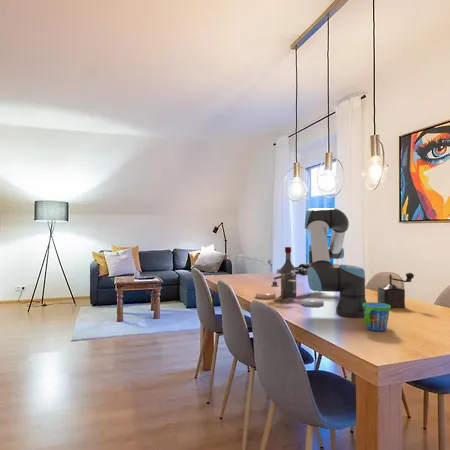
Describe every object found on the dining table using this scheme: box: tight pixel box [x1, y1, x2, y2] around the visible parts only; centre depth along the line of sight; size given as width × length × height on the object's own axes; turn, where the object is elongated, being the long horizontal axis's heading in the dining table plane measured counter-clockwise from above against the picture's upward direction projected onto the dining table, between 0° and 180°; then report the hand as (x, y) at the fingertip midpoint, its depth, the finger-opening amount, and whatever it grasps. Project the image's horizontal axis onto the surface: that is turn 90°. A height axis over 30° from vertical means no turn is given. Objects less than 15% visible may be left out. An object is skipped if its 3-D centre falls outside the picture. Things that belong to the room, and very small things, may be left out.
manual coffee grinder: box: [376, 272, 415, 309], centre depth 190 cm, size 16×11×18 cm
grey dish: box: [300, 297, 325, 308], centre depth 196 cm, size 12×12×2 cm
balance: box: [270, 273, 297, 304], centre depth 204 cm, size 15×6×17 cm, turn 57°
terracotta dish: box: [255, 291, 277, 300], centre depth 217 cm, size 12×12×2 cm
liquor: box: [280, 246, 297, 299], centre depth 218 cm, size 9×9×30 cm
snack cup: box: [362, 302, 391, 332], centre depth 147 cm, size 16×10×10 cm
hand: (283, 272), depth 216 cm, fingers closed on liquor, 10 cm apart
